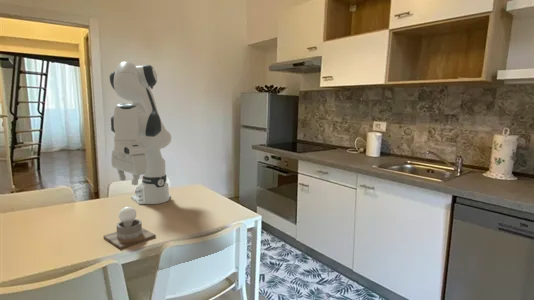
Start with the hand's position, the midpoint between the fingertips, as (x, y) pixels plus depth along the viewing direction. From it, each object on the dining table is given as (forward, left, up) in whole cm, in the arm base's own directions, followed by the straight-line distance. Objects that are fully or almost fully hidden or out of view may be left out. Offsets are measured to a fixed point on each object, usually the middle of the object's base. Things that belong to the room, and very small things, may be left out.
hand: (128, 182), depth 116 cm
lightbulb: (-2, 0, -22) cm, 22 cm away
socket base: (0, 0, -23) cm, 23 cm away
